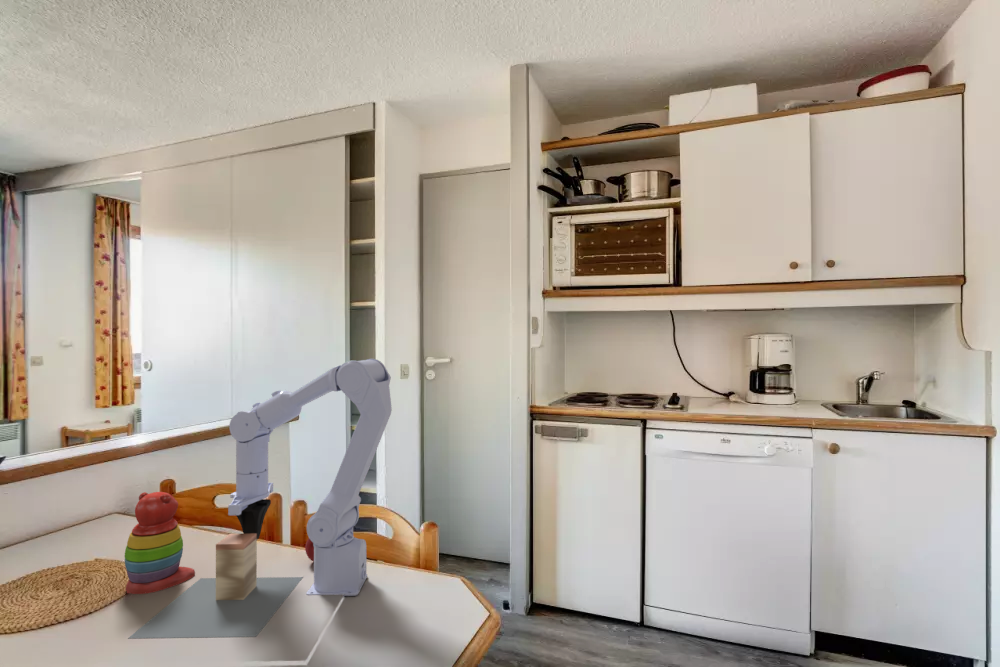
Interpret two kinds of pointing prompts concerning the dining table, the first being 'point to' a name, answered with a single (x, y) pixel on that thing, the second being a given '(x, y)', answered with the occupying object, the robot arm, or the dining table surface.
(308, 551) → the onion
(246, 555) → the beech block
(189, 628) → the slate mat
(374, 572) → the dining table surface
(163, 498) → the stacking bear
